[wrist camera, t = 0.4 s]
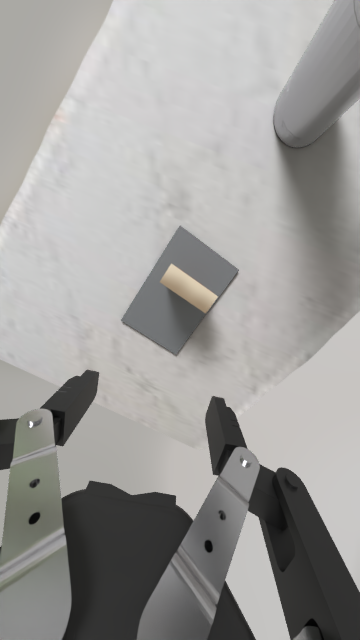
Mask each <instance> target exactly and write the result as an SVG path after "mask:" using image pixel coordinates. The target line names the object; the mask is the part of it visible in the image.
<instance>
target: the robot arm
mask: <svg viewBox="0 0 360 640" xmlns="http://www.w3.org/2000/svg"><path fill="white" fill-rule="evenodd" d="M359 99H360V0H334V2H333V3H332V5H331V7H330V9H329V10H328V12H327V14H326V16H325V17H324V19H323V21H322V23H321V24H320V26H319V28H318V30H317V31H316V33H315V35H314V37H313V38H312V40H311V42H310V43H309V45H308V47H307V49H306V50H305V52H304V54H303V56H302V57H301V59H300V61H299V63H298V64H297V66H296V68H295V69H294V71H293V73H292V75H291V76H290V78H289V80H288V81H287V83H286V85H285V87H284V88H283V90H282V92H281V94H280V95H279V98H278V100H277V102H276V106H275V110H274V126H275V129H276V132H277V134H278V136H279V138H280V139H281V140H282V141H283V142H284V143H285V144H287V145H289V146H291V147H298V148H299V147H304V146H307V145H309V144H311V143H312V142H314V141H315V140H316V139H317V138H318V137H319V136H321V135H322V134H323V133H324V132H325V131H326V130H327V129H328V128H329V127H330V126H331V125H332V124H333V123H334V122H335V121H337V120H338V119H339V118H340V117H341V116H342V115H343V114H344V113H345V112H346V111H347V110H348V109H349V108H350V107H351V106H352V105H353V104H354V103H355V102H357V101H358V100H359ZM98 378H99V372H96V371H91V370H86V371H85V372H84V373H83V374H82V375H81V377H80V376H75V377H73V378H71V379H69V380H68V381H67V382H66V383H65V384H64V385H63V386H62V387H61V388H60V389H59V390H58V391H57V392H56V393H55V394H54V395H53V396H52V397H51V398H50V399H49V400H48V401H47V402H46V403H45V404H44V405H43V406H42V407H41V408H40V409H35V410H32V411H29V412H27V413H25V414H24V415H22V416H21V417H20V418H18V419H7V420H0V470H3V469H9V468H10V474H9V483H8V492H7V501H6V510H5V520H4V528H3V537H2V546H1V547H0V640H256V639H255V637H254V635H253V633H252V631H251V629H250V627H249V625H248V623H247V622H246V620H245V618H244V616H243V614H242V612H241V610H240V608H239V606H238V604H237V602H236V601H235V599H234V597H233V595H232V593H231V591H230V589H229V587H228V585H227V583H226V581H225V578H226V575H227V572H228V569H229V566H230V563H231V560H232V557H233V554H234V551H235V548H236V544H237V541H238V538H239V535H240V532H241V529H242V526H243V523H244V520H245V517H246V514H247V511H249V512H251V513H253V514H255V515H256V516H258V517H259V520H260V524H261V528H262V532H263V536H264V539H265V543H266V547H267V551H268V554H269V558H270V562H271V566H272V570H273V574H274V577H275V581H276V585H277V589H278V593H279V597H280V601H281V604H282V608H283V612H284V616H285V620H286V624H287V627H288V631H289V635H290V639H291V640H360V592H359V590H358V589H357V587H356V585H355V583H354V581H353V579H352V577H351V575H350V573H349V571H348V569H347V567H346V565H345V563H344V561H343V559H342V557H341V555H340V553H339V551H338V550H337V547H336V546H335V544H334V542H333V540H332V538H331V536H330V534H329V532H328V530H327V528H326V526H325V524H324V522H323V520H322V518H321V516H320V514H319V512H318V511H317V509H316V507H315V505H314V503H313V501H312V499H311V497H310V495H309V493H308V491H307V489H306V487H305V485H304V483H303V482H302V481H301V479H300V478H299V477H298V476H297V475H296V474H294V473H293V472H292V471H290V470H289V469H286V468H279V469H278V470H277V471H276V472H274V471H271V470H270V469H267V468H266V467H264V466H262V465H260V464H259V461H258V460H257V458H256V456H255V455H254V454H253V453H252V452H251V451H249V450H248V449H247V446H246V443H245V440H244V438H243V435H242V432H241V429H240V428H239V424H238V422H237V418H236V415H235V413H234V412H233V411H232V409H231V408H230V407H226V404H225V400H224V399H223V398H220V397H215V396H213V397H212V398H211V401H210V404H209V407H208V410H207V413H206V418H205V423H206V430H207V437H208V444H209V450H210V457H211V464H212V471H213V475H218V478H217V480H216V481H215V483H214V485H213V487H212V489H211V490H210V492H209V494H208V496H207V498H206V500H205V502H204V503H203V505H202V507H201V509H200V510H199V512H198V514H197V516H196V518H195V519H194V521H193V520H192V518H191V517H190V516H189V515H188V514H187V513H186V512H185V511H184V510H183V509H182V508H180V507H179V506H177V505H176V496H175V495H169V494H163V493H158V492H152V493H145V494H138V495H130V494H128V493H126V492H124V491H123V490H121V489H119V488H117V487H115V486H113V485H111V484H106V483H100V482H95V481H89V484H88V486H87V488H86V489H84V490H80V491H76V492H73V493H71V494H69V495H67V496H65V497H63V498H61V491H60V480H59V469H58V458H57V449H56V445H59V446H64V444H65V442H66V441H67V439H68V438H69V436H70V435H71V434H72V432H73V430H74V429H75V427H76V426H77V424H78V423H79V421H80V420H81V418H82V417H83V415H84V414H85V412H86V411H87V409H88V408H89V406H90V405H91V403H92V402H93V400H94V398H95V396H96V393H97V386H98Z"/></svg>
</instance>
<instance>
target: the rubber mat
mask: <svg viewBox="0 0 360 640" xmlns="http://www.w3.org/2000/svg"><path fill="white" fill-rule="evenodd" d="M171 263H172V264H173V265H174V266H176V267H178V268H179V269H181V270H182V271H183V272H185V273H186V274H188V275H189V276H190V277H192V278H193V279H195V280H196V281H197V282H199V283H200V284H202V285H203V286H205V287H206V288H207V289H209V290H210V291H212V292H213V293H214V294H215V295H217V296H218V298H219V296H220V295H221V293H222V292H223V291H224V289H225V288H226V287H227V285H228V284H229V283H230V281H231V280H232V279H233V277H234V276H235V275H236V273H237V272H238V271H239V270H238V269H237V268H236V267H234V266H233V265H232V264H230V263H229V262H228V261H226V260H225V259H224V258H222V257H221V256H220V255H218V254H217V253H216V252H215V251H213V250H212V249H211V248H209V247H208V246H207V245H205V244H204V243H203V242H201V241H200V240H199V239H197V238H196V237H195V236H193V235H192V234H191V233H189V232H188V231H187V230H185V229H184V228H183V227H181V226H179V228H178V229H177V231H176V233H175V234H174V236H173V237H172V239H171V241H170V242H169V244H168V245H167V247H166V249H165V250H164V252H163V253H162V255H161V257H160V258H159V260H158V262H157V263H156V265H155V266H154V268H153V270H152V271H151V273H150V274H149V276H148V278H147V279H146V281H145V282H144V284H143V286H142V287H141V289H140V290H139V292H138V294H137V295H136V297H135V299H134V300H133V302H132V303H131V305H130V307H129V308H128V310H127V311H126V313H125V315H124V316H123V318H122V319H121V321H122V322H124V323H126V324H127V325H129V326H130V327H132V328H134V329H135V330H137V331H138V332H140V333H142V334H143V335H145V336H147V337H148V338H150V339H151V340H153V341H155V342H156V343H158V344H159V345H161V346H163V347H164V348H166V349H167V350H169V351H171V352H172V353H174V354H177V353H178V351H179V350H180V349H181V347H182V346H183V345H184V343H185V342H186V341H187V339H188V338H189V337H190V335H191V334H192V333H193V331H194V330H195V329H196V327H197V326H198V325H199V323H200V322H201V320H202V319H203V318H204V316H205V315H206V314H207V312H208V311H209V310H210V308H211V307H212V306H213V304H214V303H215V302H216V300H217V299H218V298H217V299H216V300H215V302H214V303H213V304H212V306H211V307H210V308H209V310H208V311H207V312H206V313H204V312H203V311H201V310H200V309H198V308H197V307H195V306H194V305H192V304H191V303H190V302H188V301H187V300H185V299H184V298H182V297H181V296H179V295H178V294H176V293H175V292H173V291H172V290H170V289H169V288H168V287H166V286H165V285H163V284H162V283H160V280H161V279H162V277H163V276H164V274H165V273H166V271H167V270H168V268H169V266H170V265H171Z"/></svg>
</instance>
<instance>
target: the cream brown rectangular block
mask: <svg viewBox="0 0 360 640" xmlns="http://www.w3.org/2000/svg"><path fill="white" fill-rule="evenodd" d="M160 283H162V284H163V285H165V286H166V287H168V288H169V289H170V290H172V291H173V292H175V293H176V294H178V295H179V296H181V297H182V298H184V299H185V300H187V301H188V302H190V303H191V304H192V305H194V306H195V307H197V308H198V309H200V310H201V311H203V312H204V313H206V312H207V311H208V310H209V308H210V307H211V306H212V304H213V303H214V302H215V300H216V299H217V298H218V296H217V295H215V294H214V293H213V292H212V291H210V290H209V289H207V288H206V287H205V286H203V285H202V284H200V283H199V282H197V281H196V280H195V279H193V278H192V277H190V276H189V275H188V274H186V273H185V272H183V271H182V270H181V269H179V268H178V267H176V266H174V265H173V264H172V263H171V265H170V266H169V268H168V270H167V271H166V273H165V274H164V276H163V277H162V279H161V280H160Z"/></svg>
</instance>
